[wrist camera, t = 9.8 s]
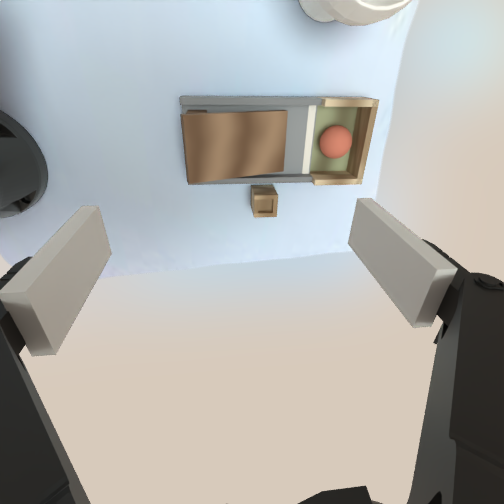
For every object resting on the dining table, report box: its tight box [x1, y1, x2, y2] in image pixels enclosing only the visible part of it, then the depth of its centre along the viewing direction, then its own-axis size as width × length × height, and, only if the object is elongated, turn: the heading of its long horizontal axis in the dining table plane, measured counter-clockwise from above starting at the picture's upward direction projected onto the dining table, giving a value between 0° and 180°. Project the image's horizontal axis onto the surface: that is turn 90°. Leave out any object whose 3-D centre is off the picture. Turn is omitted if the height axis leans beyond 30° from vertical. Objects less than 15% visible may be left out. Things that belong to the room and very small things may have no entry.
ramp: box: [181, 110, 288, 184], centre depth 39 cm, size 14×8×6 cm, turn 89°
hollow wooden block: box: [251, 185, 278, 217], centre depth 45 cm, size 3×3×5 cm
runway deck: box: [180, 96, 322, 185], centre depth 41 cm, size 18×11×3 cm, turn 89°
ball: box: [320, 125, 352, 159], centre depth 42 cm, size 4×4×4 cm
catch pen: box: [310, 97, 379, 185], centre depth 42 cm, size 7×11×4 cm, turn 179°
